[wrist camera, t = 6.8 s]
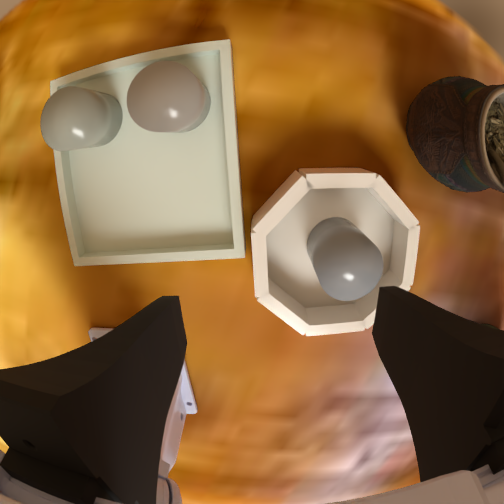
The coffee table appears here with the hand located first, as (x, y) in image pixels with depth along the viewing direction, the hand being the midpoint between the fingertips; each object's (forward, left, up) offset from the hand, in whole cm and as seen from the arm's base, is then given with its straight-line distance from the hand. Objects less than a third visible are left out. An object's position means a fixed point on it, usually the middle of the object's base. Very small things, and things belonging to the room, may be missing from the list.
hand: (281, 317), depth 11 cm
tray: (+6, +8, -10) cm, 14 cm away
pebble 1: (+9, +10, -9) cm, 16 cm away
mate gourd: (+7, -12, -10) cm, 17 cm away
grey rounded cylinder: (-1, -4, -9) cm, 10 cm away
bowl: (-1, -4, -10) cm, 11 cm away
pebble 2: (+9, +5, -9) cm, 13 cm away
